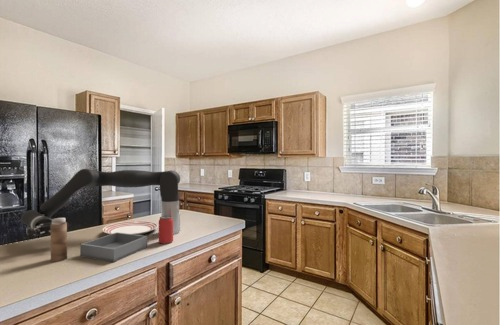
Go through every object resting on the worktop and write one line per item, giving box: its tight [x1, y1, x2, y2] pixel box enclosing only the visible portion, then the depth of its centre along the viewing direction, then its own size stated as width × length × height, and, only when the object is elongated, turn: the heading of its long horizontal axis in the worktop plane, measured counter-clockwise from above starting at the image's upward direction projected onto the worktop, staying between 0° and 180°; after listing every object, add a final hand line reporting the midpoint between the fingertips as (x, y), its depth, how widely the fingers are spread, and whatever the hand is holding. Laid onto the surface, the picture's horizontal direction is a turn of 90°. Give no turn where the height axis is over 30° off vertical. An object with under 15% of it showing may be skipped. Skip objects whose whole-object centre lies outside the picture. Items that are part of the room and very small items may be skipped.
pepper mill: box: [50, 217, 68, 263], centre depth 102 cm, size 5×5×16 cm
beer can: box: [158, 216, 174, 245], centre depth 124 cm, size 7×7×12 cm
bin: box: [79, 232, 149, 263], centre depth 111 cm, size 18×18×5 cm
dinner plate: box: [101, 220, 159, 236], centre depth 141 cm, size 27×27×3 cm
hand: (52, 230), depth 109 cm, fingers open, 8 cm apart
